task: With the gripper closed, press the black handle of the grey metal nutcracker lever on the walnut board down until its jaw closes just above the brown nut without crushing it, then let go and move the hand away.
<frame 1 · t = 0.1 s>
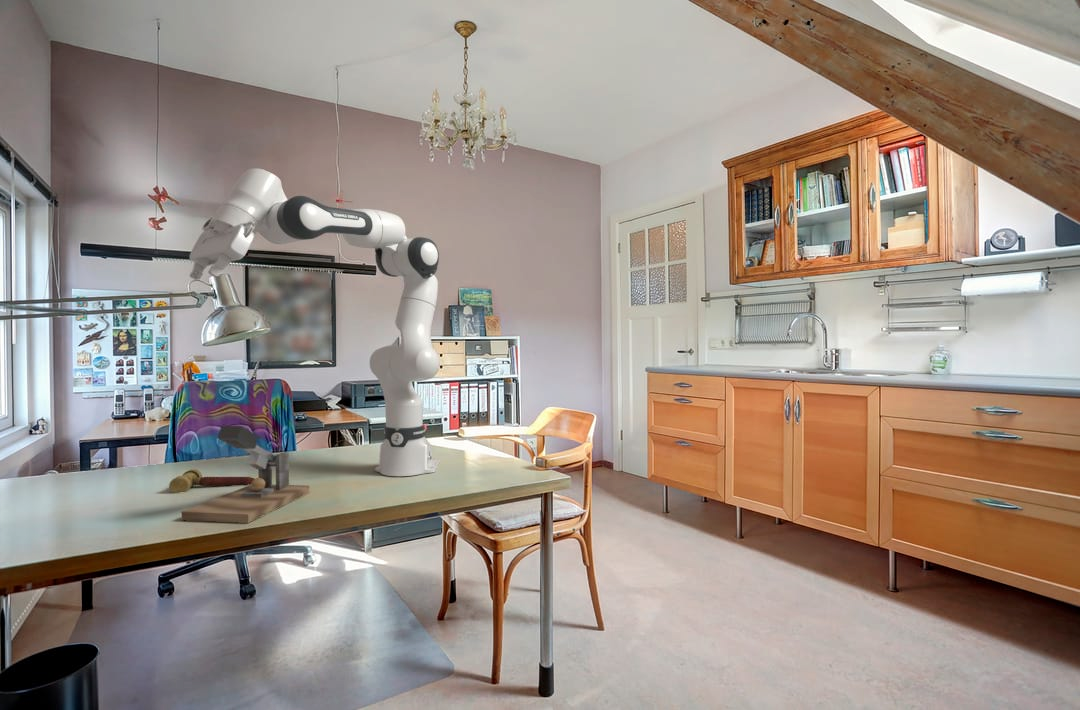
hand: (203, 276, 117), 54 cm above the table, tool tilted 30°, fingers open, 8 cm apart
gavel: (219, 488, 147), on the table
nutcracker base: (251, 505, 128), on the table
lever: (253, 451, 129), point 13 cm above the table, hinge at 30.0°
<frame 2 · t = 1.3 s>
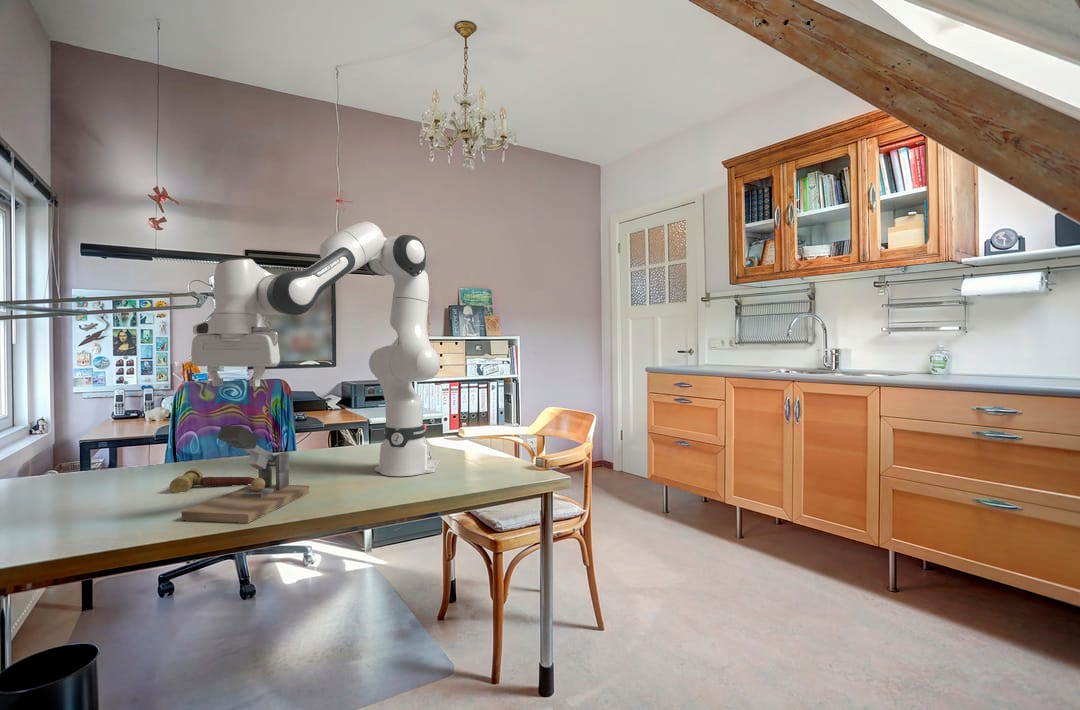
hand: (236, 386, 123), 29 cm above the table, tool pointing down, fingers open, 8 cm apart
nothing on the table moved.
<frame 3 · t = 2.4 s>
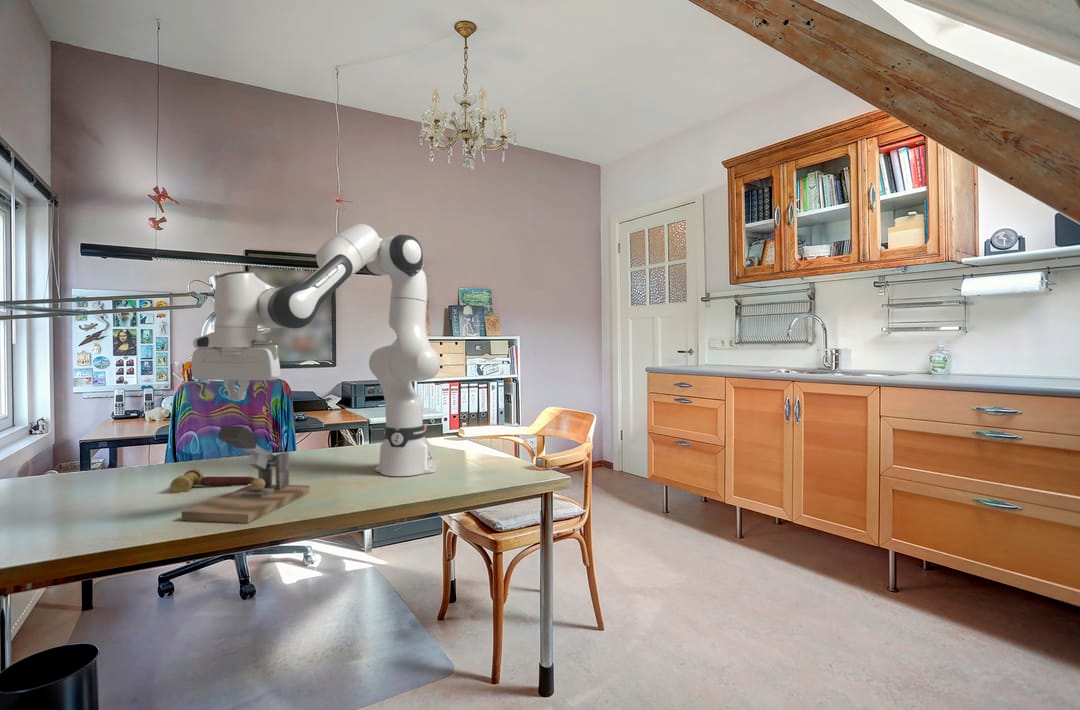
hand: (236, 399, 123), 26 cm above the table, tool pointing down, fingers closed
nothing on the table moved.
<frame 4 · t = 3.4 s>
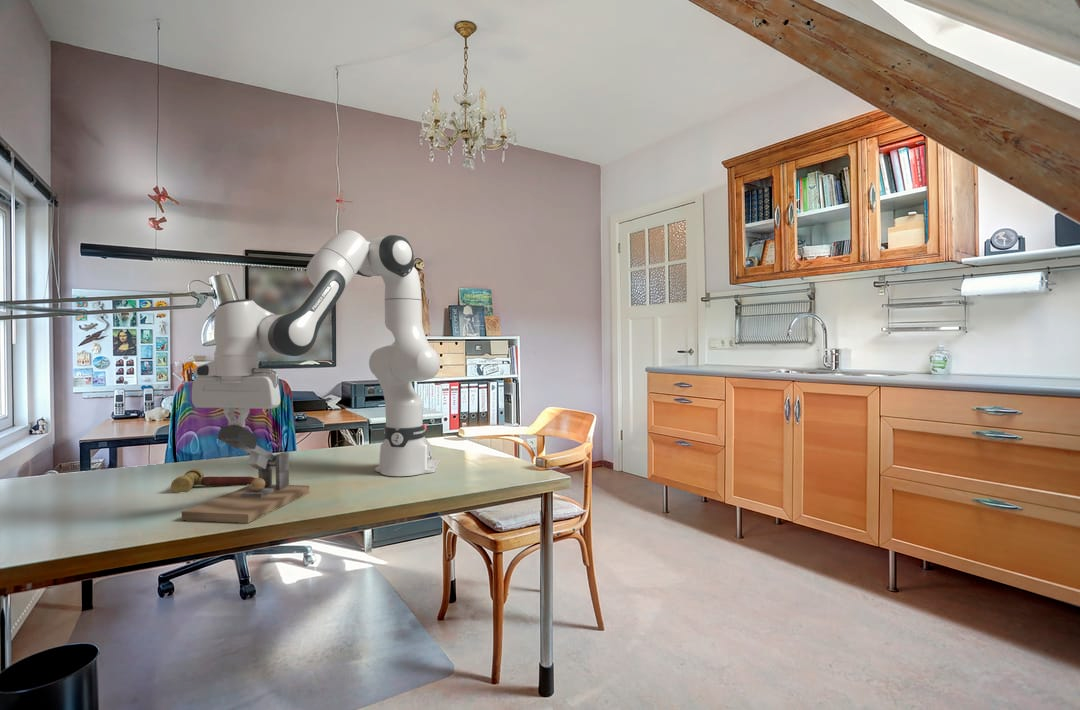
hand: (236, 427, 123), 20 cm above the table, tool pointing down, fingers closed, pressing on lever
lever: (253, 452, 129), point 13 cm above the table, hinge at 29.8°, touching gripper
everything else where it was.
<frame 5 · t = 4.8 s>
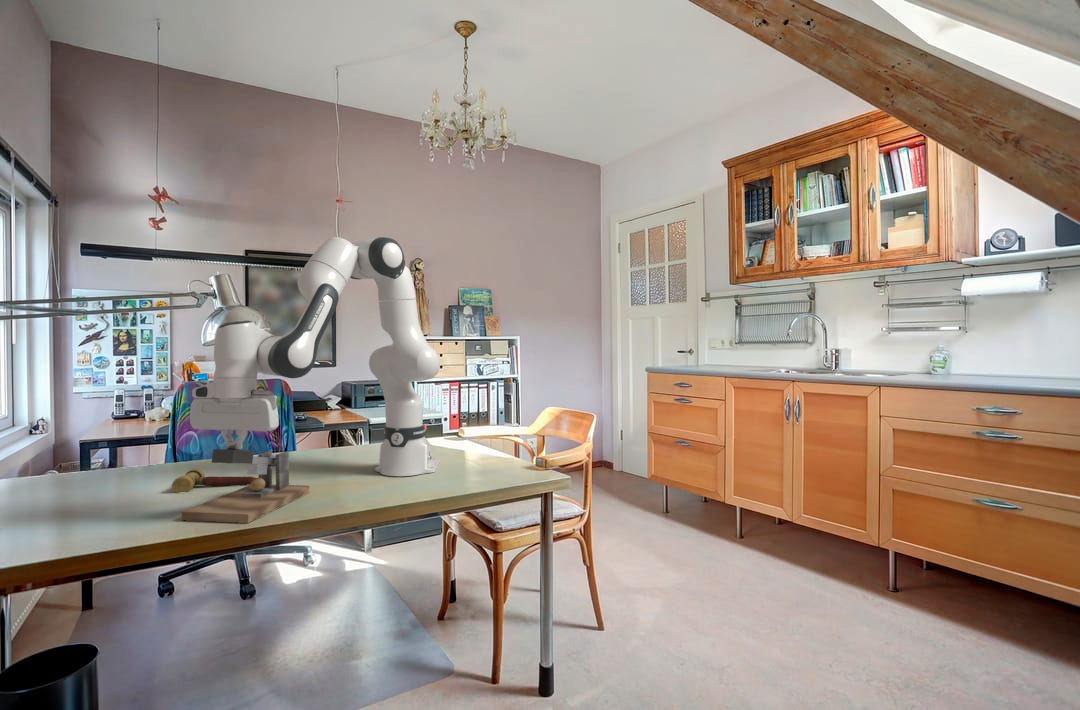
hand: (234, 449, 123), 15 cm above the table, tool pointing down, fingers closed, pressing on lever
lever: (251, 462, 128), point 10 cm above the table, hinge at 13.2°, touching gripper
everything else where it was.
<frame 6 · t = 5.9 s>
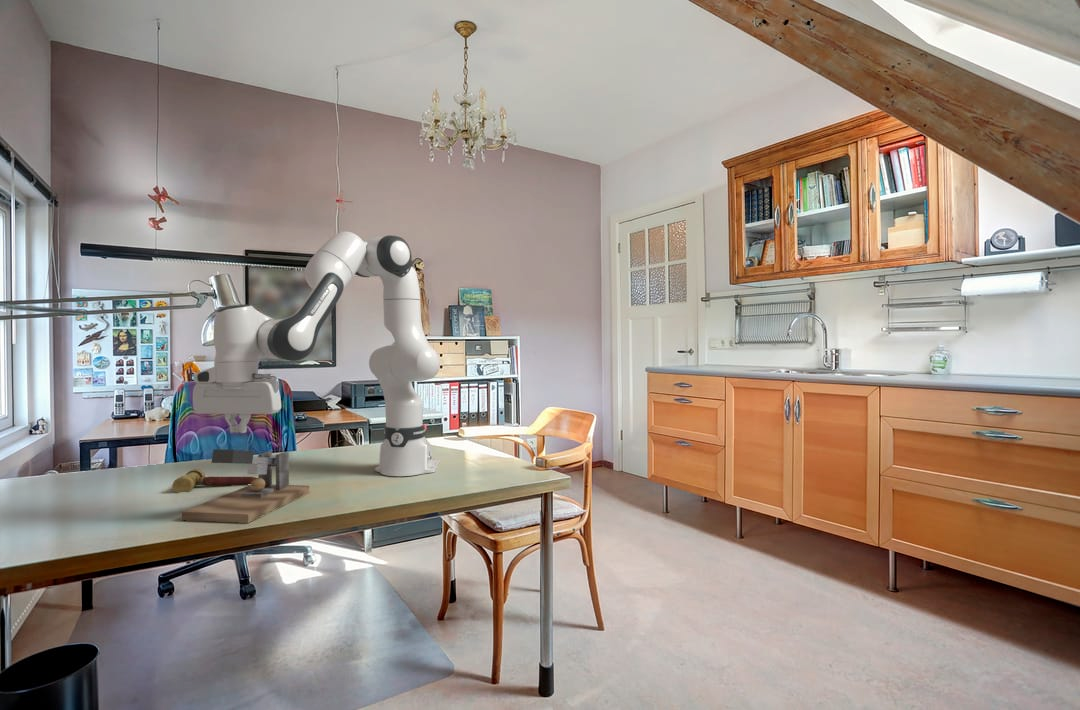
hand: (238, 432, 124), 18 cm above the table, tool pointing down, fingers closed
lever: (251, 462, 128), point 10 cm above the table, hinge at 13.1°
everything else where it was.
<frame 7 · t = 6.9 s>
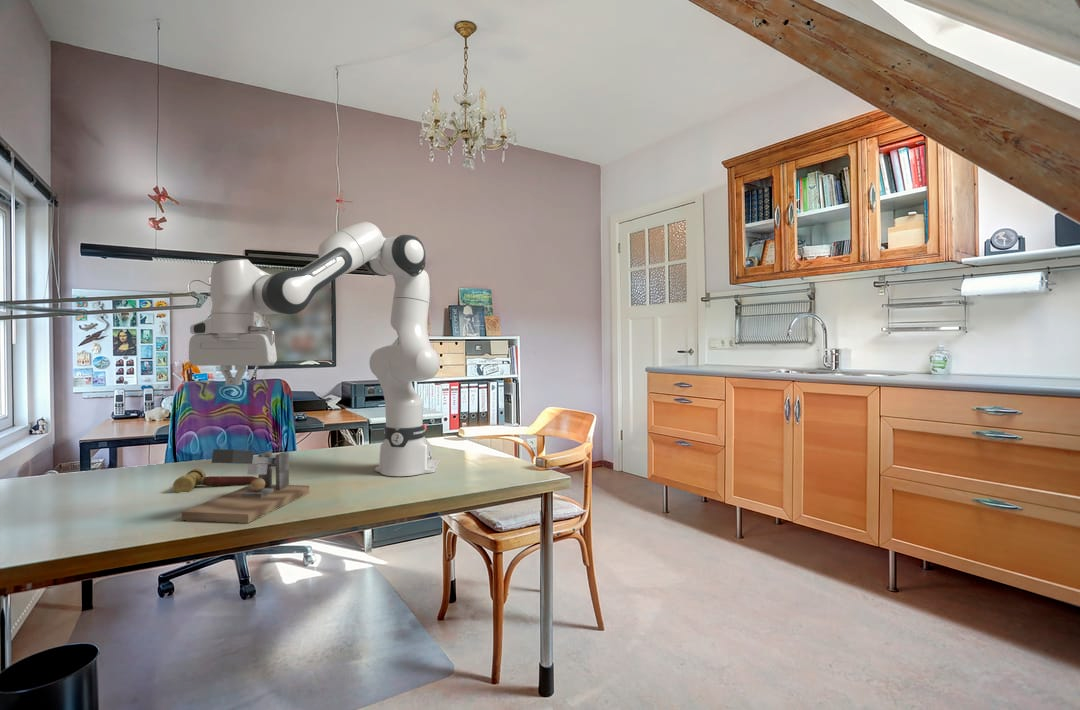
hand: (233, 384, 125), 30 cm above the table, tool pointing down, fingers closed
nothing on the table moved.
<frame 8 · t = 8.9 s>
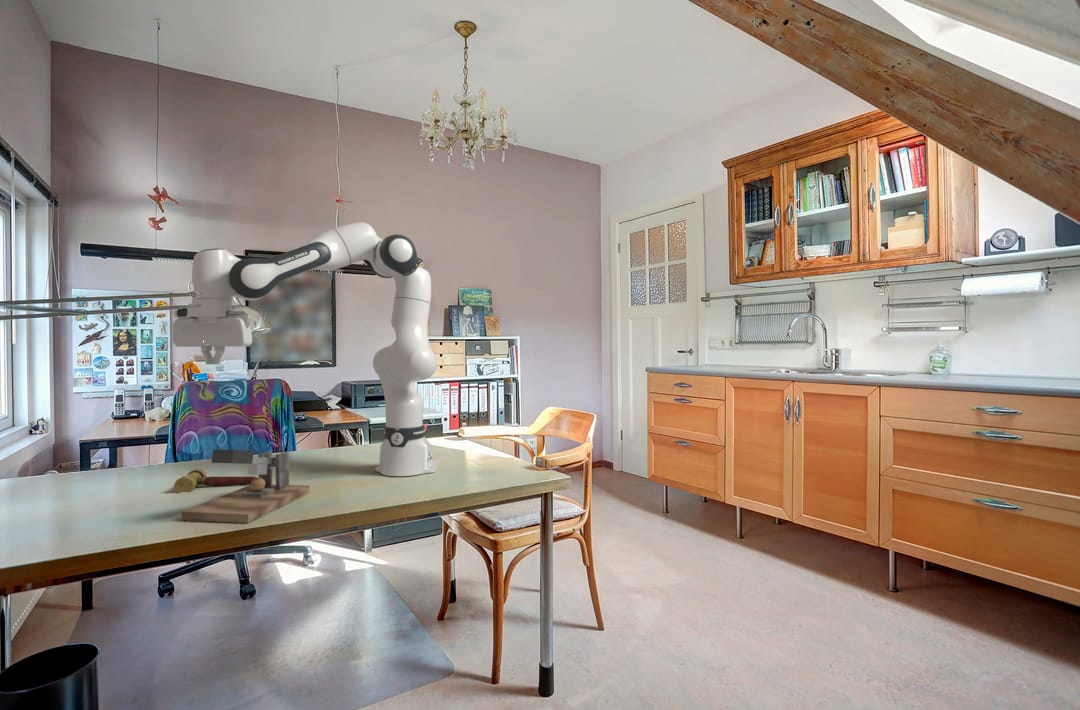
hand: (213, 364, 138), 34 cm above the table, tool pointing down, fingers closed
at the end: lever at +13° (first picture: +30°); the gripper is holding nothing; gavel moved 1.4 cm from its start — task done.
